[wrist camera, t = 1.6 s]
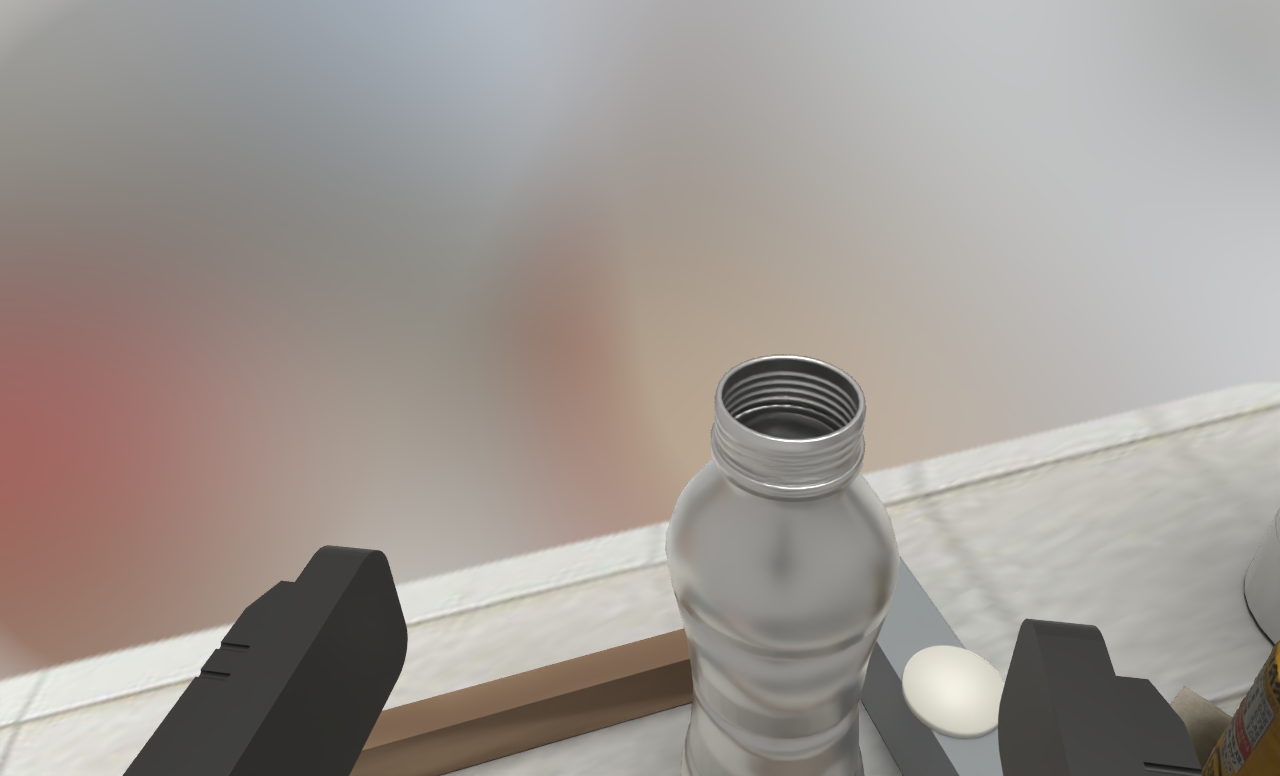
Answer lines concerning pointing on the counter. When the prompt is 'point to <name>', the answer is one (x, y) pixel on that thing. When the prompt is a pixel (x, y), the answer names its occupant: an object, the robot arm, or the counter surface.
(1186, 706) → the condiment
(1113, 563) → the counter surface
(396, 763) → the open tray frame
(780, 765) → the plastic bottle
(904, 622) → the grey beam
